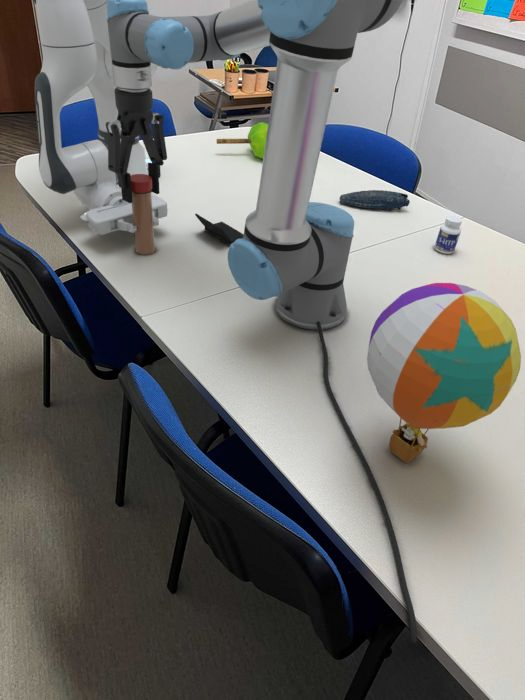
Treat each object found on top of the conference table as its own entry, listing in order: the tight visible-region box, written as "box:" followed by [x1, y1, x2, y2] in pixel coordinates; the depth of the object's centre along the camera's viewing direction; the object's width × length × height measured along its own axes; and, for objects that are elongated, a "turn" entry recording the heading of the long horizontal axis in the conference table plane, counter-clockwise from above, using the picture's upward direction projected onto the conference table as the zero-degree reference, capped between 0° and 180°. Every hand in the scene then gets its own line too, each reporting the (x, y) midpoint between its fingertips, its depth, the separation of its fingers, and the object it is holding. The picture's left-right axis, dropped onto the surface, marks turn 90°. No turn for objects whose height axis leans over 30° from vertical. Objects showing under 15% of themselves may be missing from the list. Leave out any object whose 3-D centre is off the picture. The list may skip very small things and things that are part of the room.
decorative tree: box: [216, 121, 268, 160], centre depth 186 cm, size 18×10×30 cm
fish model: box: [339, 189, 411, 211], centre depth 158 cm, size 7×21×5 cm, turn 84°
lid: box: [131, 174, 152, 192], centre depth 118 cm, size 5×5×2 cm
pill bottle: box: [434, 215, 463, 255], centre depth 137 cm, size 5×5×9 cm
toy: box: [366, 282, 522, 464], centre depth 73 cm, size 20×20×30 cm
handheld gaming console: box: [194, 213, 244, 246], centre depth 135 cm, size 12×7×10 cm
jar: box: [132, 190, 156, 256], centre depth 123 cm, size 5×5×17 cm
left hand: (145, 226), depth 124 cm, fingers closed on jar, 5 cm apart
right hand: (141, 196), depth 120 cm, fingers open, 7 cm apart
